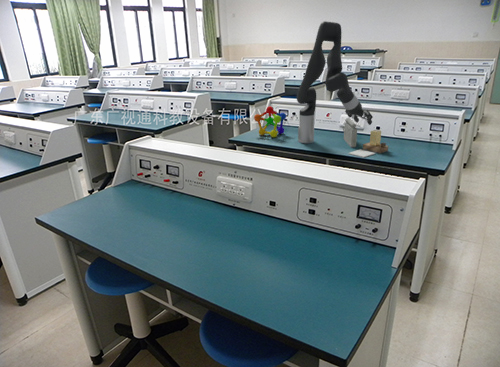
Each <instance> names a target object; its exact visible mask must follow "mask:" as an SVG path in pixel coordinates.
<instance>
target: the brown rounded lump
mask: <svg viewBox="0 0 500 367" xmlns="http://www.w3.org/2000/svg"><path fill="white" fill-rule="evenodd" d="M362 150H365V151H369V152H373V153H375V154H380V155H381V154H384V153H387V152H389V145H387V144H386V142H380V145H379V146H372V145H370V141H369V142H367V143H363V144H362Z"/></svg>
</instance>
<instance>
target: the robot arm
mask: <svg viewBox="0 0 500 367" xmlns="http://www.w3.org/2000/svg"><path fill="white" fill-rule="evenodd" d="M341 26H342V25H341V24H340V23H339V22H334V21H326V20H325V21H322V22H320V25H319V27H318V30H317V34H316V37H315V41H314V45H313V49H312V52H311V55H310V58H309V60H308V63H307V65H306V66H307V67H306V70H305V73H304V76H303V77H302V78H303V79H302V81H301V83H300V85H299V88H298V90H297V93H296V102H297V103H298V104H300V105H305V106H304V107H302V108H301V109H299V126H298V127H297V128H298V129H297V130H298V132H297V138H298V140H297V141H298V142H299V143H301V144H311V143H314V142H315V112H316V107H317V106H316V105H317V104H316V103H317V91H316V89H315V88H314V87H311V86H312V85H313V84H314V83H315V82H316V81H317V80H318V79H319V78H320V77H321V76H322V74H323V72H324V69H325V66H326V65H327V66H326V67H327V71H326V72H327V73H326V75H325V76H326V77H325V88H326V90H327V91H328V92H331V93H333V92H336V96H337V98H338V99H339V101H340V102H341V104H342V106H343V107H344V109H345V111H344V112H345V113H346V115H347V118H351V119H352V120H354V121H355V122H354V123H355V124H356V123H358V122H359V121H360V119H361V120H365V121H366V123H367V124H368V126H371V125H372V123H373V121H372V119H373V118H374V116H373V115H372V113H371V112H370V110H368V109H367V110H363V108H362V107H363V106H362V103H361V102H360V100H359V99H358V97H357V96H356V95H355V94H354V92H353V90H352V89H351V87H350V83H349V78H348V76H347V74H346V73H344V72H342V71H343V63H342V53H341V52H342V51H341V50H342V27H341ZM324 42H328V43H329V42H330V43H333V46H332V47H331V50H330V51H329V52H328V54H327V57H325V54H324V51H323V43H324ZM359 118H360V119H359Z"/></svg>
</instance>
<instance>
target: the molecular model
mask: <svg viewBox="0 0 500 367" xmlns="http://www.w3.org/2000/svg"><path fill="white" fill-rule="evenodd" d="M267 114H268V117H267V118H264V117H263V116H265V115H267ZM286 118H287V114H286V113H285V112H277V111H275V110H274V108H273V106H271V105H270V106H267V107H266V108H265V111H264V112H262V113H261V114H259V113H257V114H254V116H253V119H254V121H255V122H257V124H258V127H259V130H258V134H259V136H264V135H270V137H271V138H276V137H277V136H278V134H279V135H282V134H284V132H285V128H284V127H283V126H284V125H283V123H284V120H287V119H286ZM261 121H263V122H264V121H265V122H266V123H265V125H264V127H263V126H262V124H261ZM278 123H280V125H279V126H278ZM269 125H272V126H273V129H272V130H270V131H266V129H267V128H268V127H269Z"/></svg>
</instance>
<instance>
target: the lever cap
mask: <svg viewBox="0 0 500 367" xmlns="http://www.w3.org/2000/svg"><path fill="white" fill-rule="evenodd" d="M369 138H370V139H369V142H370V145H372V146H379V145H380V144H381V140H382V131H381V130H377V129H374V130H371V131H370V135H369Z"/></svg>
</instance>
